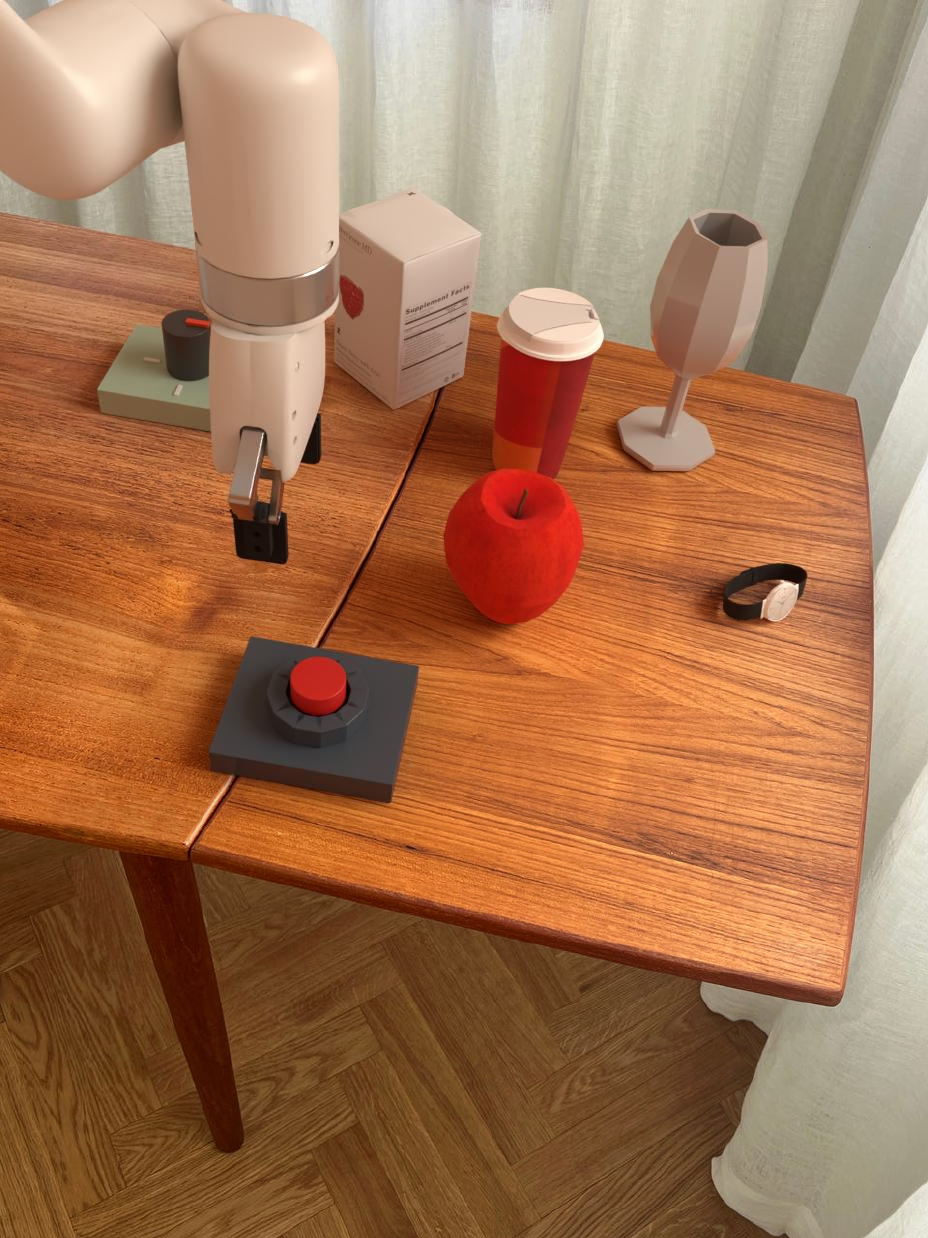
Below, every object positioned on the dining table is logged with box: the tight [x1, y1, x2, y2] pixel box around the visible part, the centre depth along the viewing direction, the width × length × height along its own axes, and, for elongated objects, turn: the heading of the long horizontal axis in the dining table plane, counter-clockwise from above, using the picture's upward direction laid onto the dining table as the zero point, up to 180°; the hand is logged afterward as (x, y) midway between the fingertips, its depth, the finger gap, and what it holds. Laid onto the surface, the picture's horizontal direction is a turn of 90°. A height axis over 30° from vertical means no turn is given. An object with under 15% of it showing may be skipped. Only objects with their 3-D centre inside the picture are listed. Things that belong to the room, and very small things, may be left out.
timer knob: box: [161, 308, 212, 381], centre depth 94 cm, size 4×4×5 cm
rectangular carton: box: [333, 187, 483, 410], centre depth 98 cm, size 9×9×15 cm
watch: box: [722, 562, 809, 622], centre depth 86 cm, size 8×5×4 cm, turn 122°
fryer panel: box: [96, 323, 211, 433], centre depth 97 cm, size 13×10×3 cm
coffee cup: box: [492, 287, 605, 480], centre depth 91 cm, size 8×8×15 cm
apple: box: [442, 468, 585, 625], centre depth 80 cm, size 10×10×12 cm
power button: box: [290, 657, 346, 716], centre depth 72 cm, size 4×4×2 cm
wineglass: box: [615, 208, 769, 472], centre depth 92 cm, size 9×9×21 cm
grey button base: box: [208, 636, 420, 804], centre depth 74 cm, size 12×10×4 cm
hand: (280, 506), depth 73 cm, fingers open, 9 cm apart
